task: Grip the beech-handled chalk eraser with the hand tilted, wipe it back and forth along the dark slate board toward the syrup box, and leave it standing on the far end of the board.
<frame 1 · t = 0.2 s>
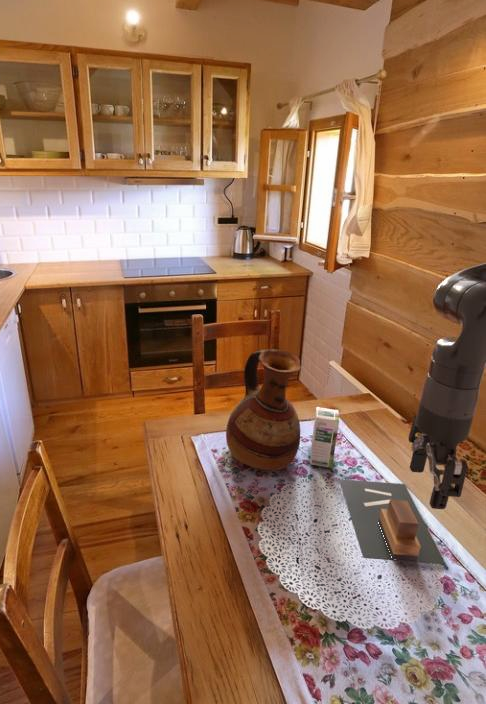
hand: (425, 488, 68), 22 cm above the table, tool pointing down, fingers open, 8 cm apart
ceramic pitcher: (260, 453, 110), on the table
eraser: (396, 541, 84), point 1 cm above the table, touching slate board
syrup box: (320, 460, 109), on the table
slate board: (385, 519, 90), on the table
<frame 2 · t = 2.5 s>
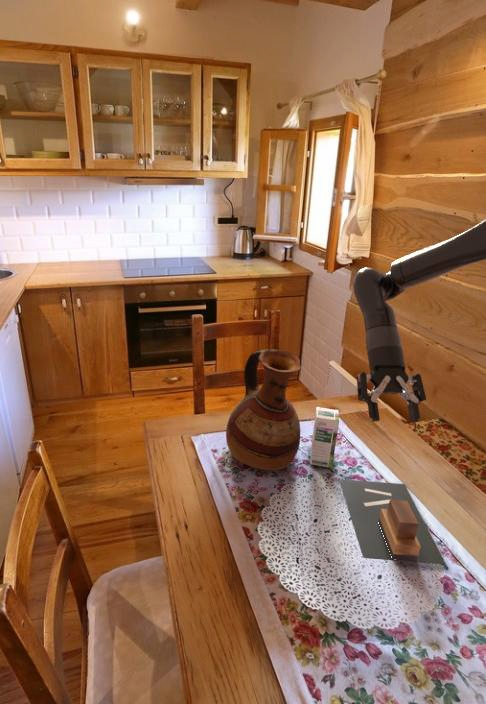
hand: (395, 421, 87), 23 cm above the table, tool tilted 40°, fingers open, 8 cm apart
nothing on the table moved.
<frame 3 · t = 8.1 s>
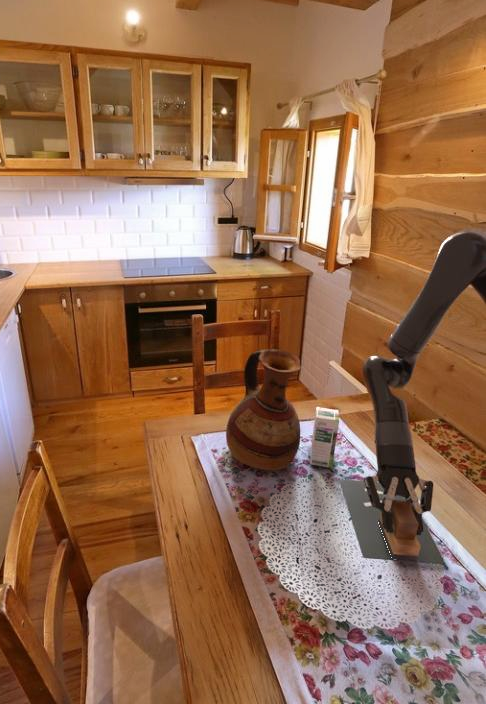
hand: (403, 533, 81), 5 cm above the table, tool tilted 45°, fingers closed on eraser, 4 cm apart
eraser: (396, 541, 84), point 1 cm above the table, touching gripper, slate board
everything else where it was.
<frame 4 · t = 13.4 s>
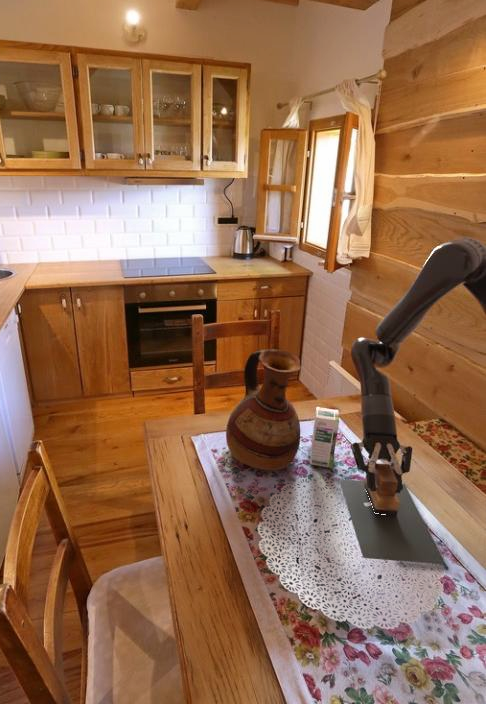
hand: (385, 491, 91), 5 cm above the table, tool tilted 45°, fingers closed on eraser, 4 cm apart
eraser: (379, 500, 95), point 1 cm above the table, touching gripper
everything else where it was.
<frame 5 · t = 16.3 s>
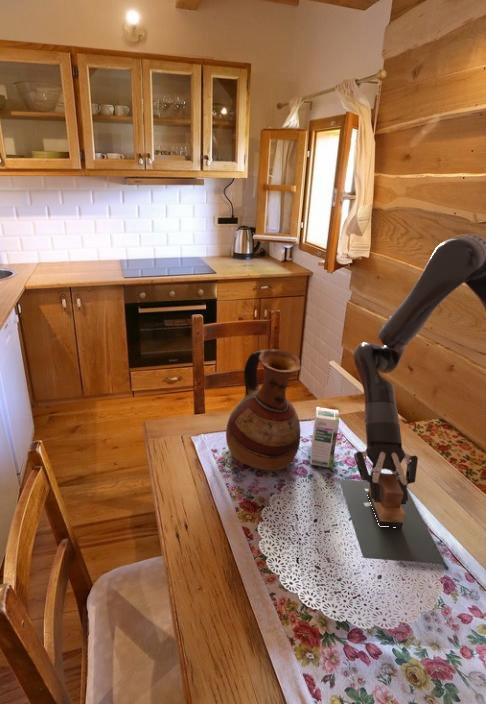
hand: (390, 502, 88), 5 cm above the table, tool tilted 45°, fingers closed on eraser, 4 cm apart
eraser: (383, 511, 91), point 1 cm above the table, touching gripper
everything else where it was.
when the fingers open (5 cm above the table, at t = 18.5 s): eraser stays where it is, resting on slate board.
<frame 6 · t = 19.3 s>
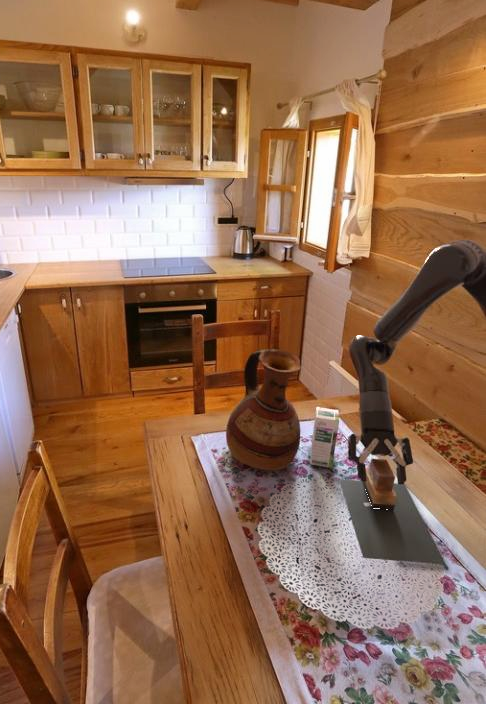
hand: (382, 482, 93), 6 cm above the table, tool tilted 45°, fingers open, 8 cm apart
eraser: (377, 495, 96), point 1 cm above the table, touching slate board
everything else where it was.
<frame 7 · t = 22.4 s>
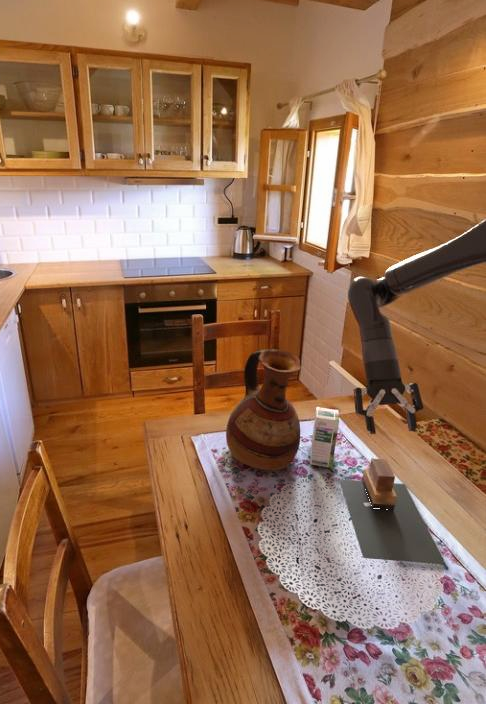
hand: (392, 432, 90), 18 cm above the table, tool tilted 35°, fingers open, 8 cm apart
nothing on the table moved.
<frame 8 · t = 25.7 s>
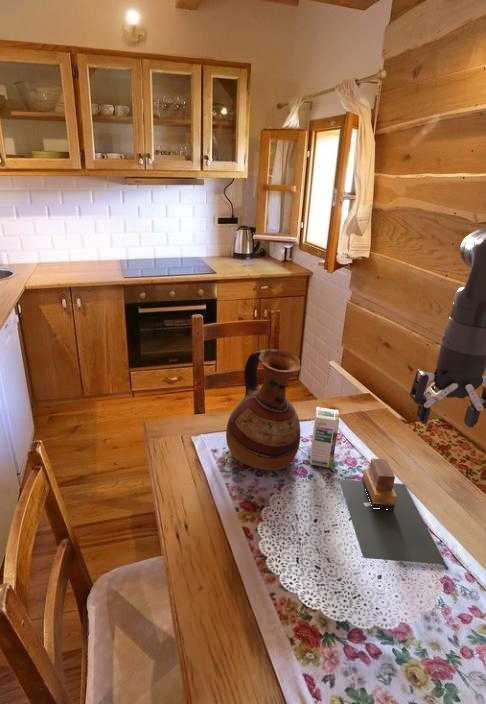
hand: (445, 423, 77), 28 cm above the table, tool pointing down, fingers open, 8 cm apart
nothing on the table moved.
at the end: eraser inside the target area on the slate board (0.0 cm from its centre), point 0.8 cm above the slate board's base; eraser tilted 0°; syrup box moved 0.2 cm from its start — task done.
